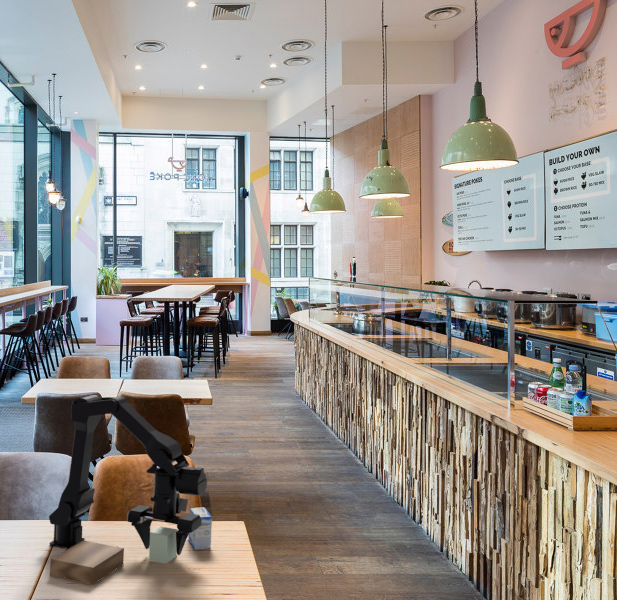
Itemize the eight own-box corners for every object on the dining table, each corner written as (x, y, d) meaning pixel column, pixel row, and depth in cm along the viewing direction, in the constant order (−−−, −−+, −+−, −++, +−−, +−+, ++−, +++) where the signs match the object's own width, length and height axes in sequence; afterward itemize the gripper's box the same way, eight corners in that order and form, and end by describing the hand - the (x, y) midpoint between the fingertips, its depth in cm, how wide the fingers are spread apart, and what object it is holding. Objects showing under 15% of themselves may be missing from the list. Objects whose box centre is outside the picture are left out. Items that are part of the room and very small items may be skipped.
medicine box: (188, 539, 175) (189, 508, 175) (204, 537, 177) (205, 506, 177) (194, 550, 168) (195, 517, 168) (211, 548, 170) (212, 516, 169)
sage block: (149, 560, 161) (150, 533, 160) (159, 553, 165) (160, 526, 165) (166, 564, 159) (167, 536, 159) (176, 556, 164) (177, 529, 164)
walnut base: (50, 575, 150) (50, 558, 150) (83, 555, 162) (83, 540, 161) (92, 584, 146) (93, 567, 146) (123, 564, 158) (123, 548, 158)
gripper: (212, 487, 167) (210, 546, 167) (151, 477, 172) (149, 534, 173) (191, 499, 156) (189, 562, 156) (126, 489, 162) (124, 550, 162)
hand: (163, 551), depth 162 cm, fingers open, 9 cm apart
